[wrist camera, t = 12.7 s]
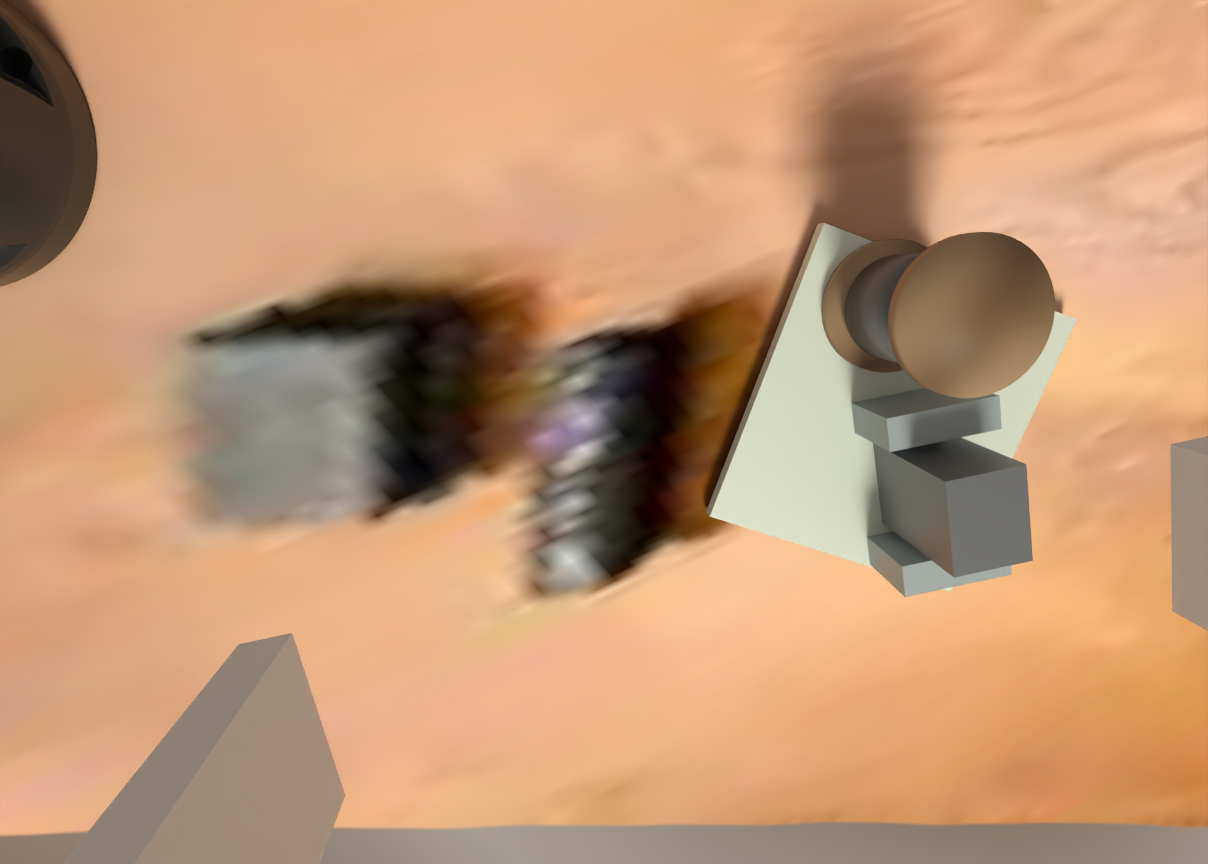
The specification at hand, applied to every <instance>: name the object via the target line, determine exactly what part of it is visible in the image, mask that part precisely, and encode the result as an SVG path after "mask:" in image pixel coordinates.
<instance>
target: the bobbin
mask: <svg viewBox="0 0 1208 864" xmlns="http://www.w3.org/2000/svg"><path fill="white" fill-rule="evenodd" d="M821 313H822V323H823V328H824V331H825V334H826V336H827V338H828V340H829V342H830V344H831V345H832V347H833V348H834V350H835V351H836V352H837V353H838V354H839V355H840V356H841V357H842V358H843V359H845V360H846V361H848V362H849V363H851V364H853V365H855V366H857V367H860V368H863V369H866V370H869V371H873V372H881V373H890V372H897V371H901V370H904V371H905V372H906V374H907V375H908V376H909V377H910V378H912V379H913V380H914V381H915V382H916V383H918V384H920V385H921V386H923V387H924V388H927V389H929V390H931V391H934V392H937V393H940V394H943V395H947V396H950V397H957V398H975V397H982V396H986V395H989V394H993V393H995V392H998V391H1000V390H1002V389H1004V388H1006V387H1008V386H1009V385H1011V384H1012V383H1014V382H1015V381H1017V380H1018V379H1019V378H1021V377H1022V376H1023V375H1024V374H1025V373H1026V372H1027V371H1028V370H1029V369H1030V368H1031V367H1032V365H1033V364H1034V363H1035V362H1036V360H1037V359H1038V357H1039V356H1040V355H1041V353H1042V351H1043V349H1044V347H1045V345H1046V344H1047V341H1048V338H1049V336H1050V333H1051V330H1052V326H1053V321H1054V314H1055V297H1054V290H1053V286H1052V282H1051V279H1050V276H1049V274H1048V271H1047V269H1046V268H1045V266H1044V264H1043V262H1042V261H1041V260H1040V259H1039V257H1038V256H1037V255H1036V254H1035V253H1034V252H1033V251H1032V250H1031V249H1030V248H1029V247H1028V246H1026V245H1025V244H1023V243H1022V242H1020V241H1018V240H1016V239H1014V238H1012V237H1010V236H1006V235H1003V234H999V233H992V232H977V233H967V234H959V235H955V236H952V237H948V238H946V239H944V240H941V241H939V242H937V243H935V244H934V245H932V246H930V247H929V248H927V247H925V246H923V245H921V244H919V243H916V242H913V241H909V240H902V239H890V240H881V241H876V242H872V243H869V244H866V245H864V246H862V247H860V248H858V249H856V250H855V251H853V252H852V253H850V254H849V255H848V256H847V257H846V258H845V259H844V260H842V261H841V262H840V264H839V265H838V266H837V267H836V269H835V270H834V272H833V273H832V275H831V276H830V278H829V281H828V283H827V285H826V288H825V291H824V294H823V299H822V309H821Z"/></svg>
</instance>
